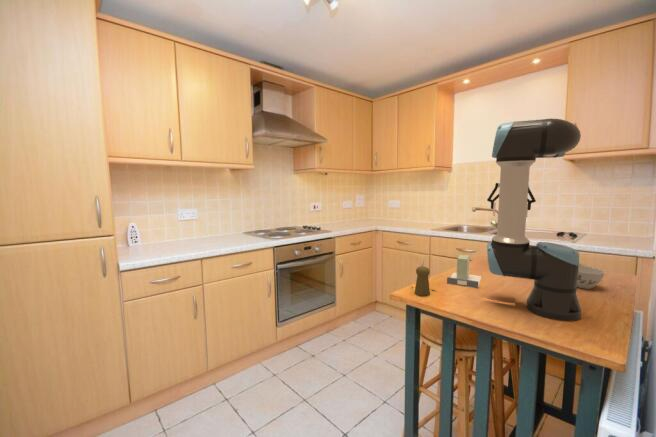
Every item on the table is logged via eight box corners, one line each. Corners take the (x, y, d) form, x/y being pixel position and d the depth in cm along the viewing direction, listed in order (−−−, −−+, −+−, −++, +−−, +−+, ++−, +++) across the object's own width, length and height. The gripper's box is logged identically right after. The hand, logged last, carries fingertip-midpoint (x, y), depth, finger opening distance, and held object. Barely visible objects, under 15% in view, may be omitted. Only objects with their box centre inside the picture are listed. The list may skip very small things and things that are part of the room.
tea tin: (466, 282, 132) (467, 259, 131) (456, 280, 134) (457, 258, 133) (468, 276, 139) (469, 255, 137) (459, 275, 141) (460, 254, 140)
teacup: (601, 294, 119) (603, 274, 118) (561, 287, 128) (563, 268, 127) (603, 284, 130) (605, 266, 129) (567, 278, 138) (568, 261, 137)
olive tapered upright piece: (429, 291, 124) (430, 265, 123) (430, 297, 119) (431, 269, 117) (414, 290, 126) (415, 264, 125) (414, 295, 120) (415, 268, 119)
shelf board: (477, 291, 124) (478, 282, 124) (446, 286, 130) (447, 277, 130) (481, 278, 140) (481, 270, 139) (453, 274, 146) (453, 267, 145)
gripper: (543, 172, 143) (539, 216, 146) (484, 173, 156) (482, 214, 159) (544, 171, 137) (541, 218, 139) (482, 173, 150) (480, 215, 152)
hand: (509, 216), depth 149 cm, fingers open, 13 cm apart
